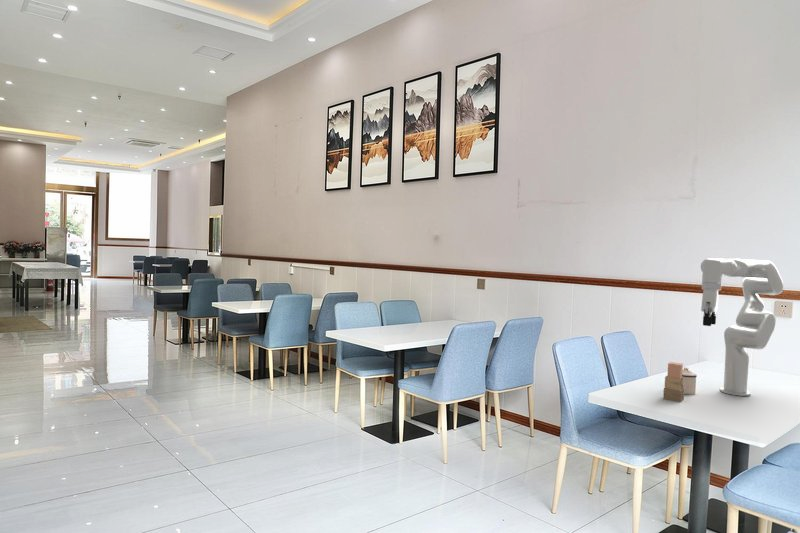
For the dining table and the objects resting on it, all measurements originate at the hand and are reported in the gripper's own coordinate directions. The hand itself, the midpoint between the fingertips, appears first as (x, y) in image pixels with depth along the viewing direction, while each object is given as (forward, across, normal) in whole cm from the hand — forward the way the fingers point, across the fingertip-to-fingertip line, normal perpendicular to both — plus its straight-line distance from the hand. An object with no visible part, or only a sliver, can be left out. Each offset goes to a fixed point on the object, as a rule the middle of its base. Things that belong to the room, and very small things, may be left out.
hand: (709, 324), depth 246 cm
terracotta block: (+24, +12, -10) cm, 28 cm away
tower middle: (+28, +12, -10) cm, 33 cm away
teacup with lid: (+34, -6, -11) cm, 36 cm away
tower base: (+34, +12, -10) cm, 37 cm away
